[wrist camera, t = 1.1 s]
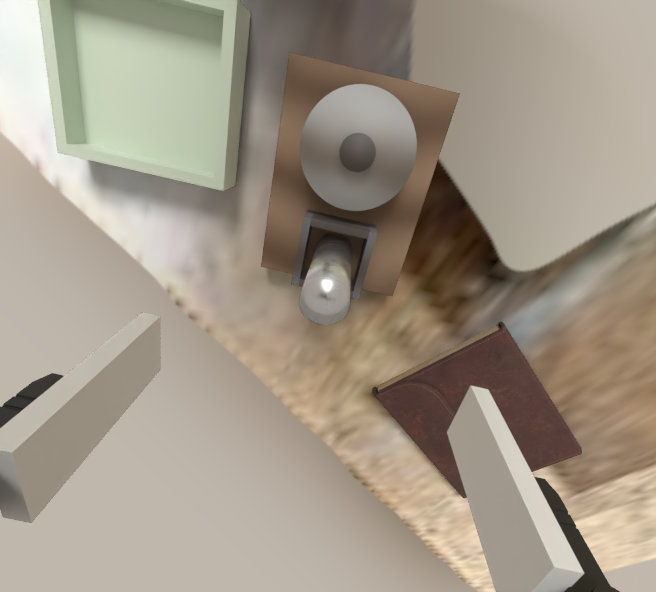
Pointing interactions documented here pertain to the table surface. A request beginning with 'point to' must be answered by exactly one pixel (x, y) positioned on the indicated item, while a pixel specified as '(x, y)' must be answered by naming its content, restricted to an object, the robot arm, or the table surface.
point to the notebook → (504, 386)
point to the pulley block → (352, 168)
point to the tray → (149, 84)
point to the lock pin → (328, 281)
